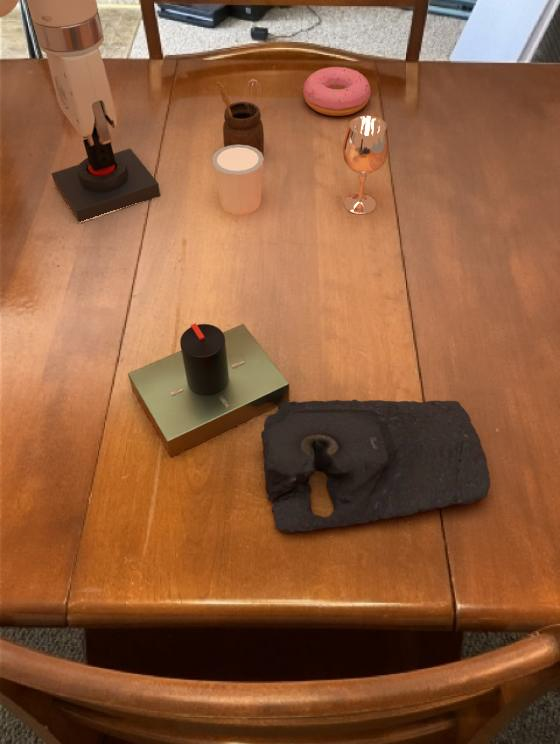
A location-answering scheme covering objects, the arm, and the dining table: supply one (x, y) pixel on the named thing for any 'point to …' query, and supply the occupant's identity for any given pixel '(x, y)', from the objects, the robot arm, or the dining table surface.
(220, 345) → the dial
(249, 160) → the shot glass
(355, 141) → the wineglass
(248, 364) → the control panel
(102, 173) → the button
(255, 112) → the utensil holder
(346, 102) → the doughnut
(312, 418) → the dark grey slotted slab
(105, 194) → the button box
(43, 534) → the dining table surface
